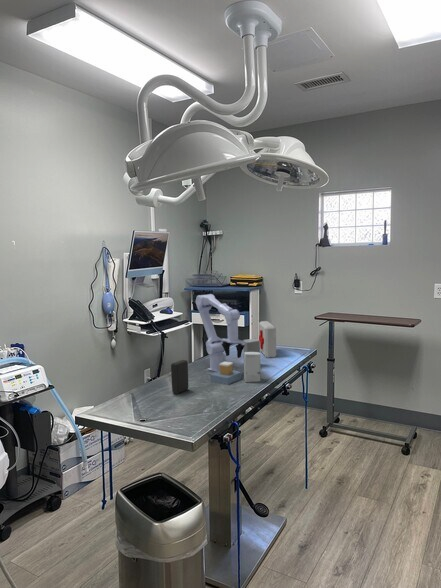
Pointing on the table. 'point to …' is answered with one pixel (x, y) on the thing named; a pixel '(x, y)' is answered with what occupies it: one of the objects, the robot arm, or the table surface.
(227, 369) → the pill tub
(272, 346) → the bevelled white case
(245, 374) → the skincare box
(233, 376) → the box
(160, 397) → the table surface
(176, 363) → the card reader
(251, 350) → the skincare box
